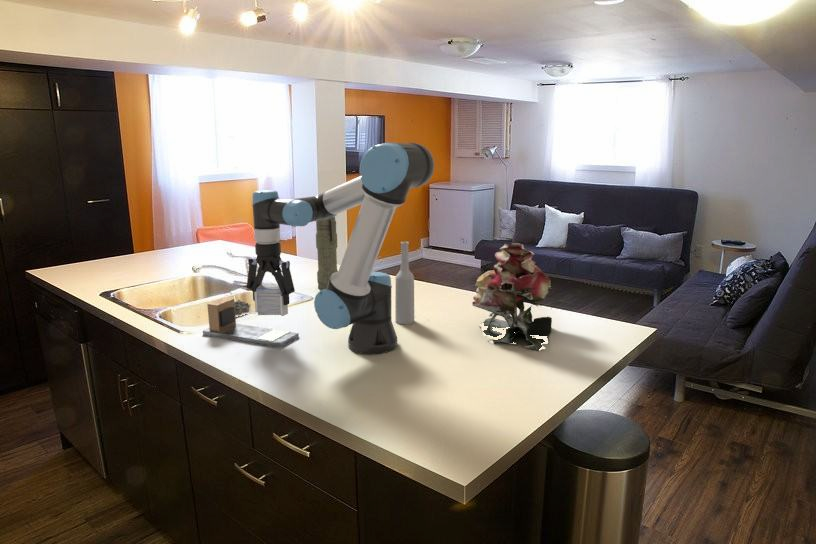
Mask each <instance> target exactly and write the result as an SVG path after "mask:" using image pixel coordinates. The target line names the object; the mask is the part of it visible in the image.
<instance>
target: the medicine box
mask: <svg viewBox="0 0 816 544" xmlns="http://www.w3.org/2000/svg"><path fill="white" fill-rule="evenodd" d="M256 293H257V308H258V312H257V315H258V316H281V308H280V295H282V293H281V291H280V288H279V286H278V284H267V285H266V284H265V285H264V284H261V285H260V286H259V287H258V288H257V289H256Z"/></svg>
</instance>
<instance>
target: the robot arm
mask: <svg viewBox="0 0 816 544" xmlns="http://www.w3.org/2000/svg"><path fill="white" fill-rule="evenodd" d="M434 171H435V160H434V157H433V154H432V153H431V151H430V149H428V148H427V147H426V146H424V145H423V144H420V143H418V142H417V143H416V142H401V143H400V142H396V143H395V142H391V141H390V142H383V143H378V144H376V145H373V146H371V147H370V148H368V150H366V152H365V153H364V154H363V156H362V158H361V160H360V164H359V174H360V176H358V177H354V178H353V179H351V180H348V181H347V182H344V183H342V184H340V185H337V186H336V187H332V188H330V189H329V190H327V191H324V192H323V193H320V194H318V195H313V196H307V197H298V198H280V196H279V193H278V191H277V190H275V189H273V190H272V189H262V190H261V189H260V190H255V191H253V193H252V203H251V206H252V213H253V214H252V215H253V231H254V233H253V234H254V242H255V244H254V248H255V255H256V257H255V256H254V257H250V258H248V260H247V262H248V271H247V272H248V274H247V280H246V281H247V282H246V288H247V289H248V290H251V292H252V300H253V301H254V307H255V313H258V308H257V293H256V289H257V288H258V287H259V286H260V285H262V283H263V280H264V277H265V275H266V273H271V275H272V276H273V277H274V279H275V281H276V285H278V286H279V288H280V291H281V293H282V295H280V308H281V315H280V316H281V317H284V316H286V315H288V314H289V307H288V306H289V304H290V294H292V293H294V292H295V291H296V290H295V286H294V282H293V281H294V280H293V277H292V273H291V269H290V266H291V263H290V260H286V261H285V260H282V258H281V254H282V248H281V247H282V245H281V242H280V240H281V229H280V226H281V225H284V226H291V227H294V228H295V227H306V226H307V225H308V224H309V223H312V222H316V221H318V220H327V219H330V218H333V217H335V218H336V217H337V216H338V214H340V213H342V212H343V213H344V212H345V211H347V210H350V209H353V208H355V207H358V206H360V209H359V212H358V215H357V218H356V221H355V223H354V226H353V228H352V231H351V233H350V237H349V240H348V242H347V245H346V249H345V251H344V254H343V257H342V260H341V263H340V266H339V268H338V271H337V272H334V273H333V274H332V275H331V277H330V280H329V283H328V286H327V288H326V289H323V290H319V291H318V292H317V293H316V294H315V297H314V301H313V305H314V310H315V312H316V316H317V318H318V319H319V320H320V322H321V323H322V324H323V325H324V326H326V327H327V328H328V329H332V330H340V329H342V328H347V327H349V326H350V325H352V326H351V327H350V331H349V335H348V339H347V346H348V349H350V350H351V351H353V352H356V353H359V354H363V355H365V354H366V355H376V354H384V353H388V352H391V351H393V350H395V349H396V348H397V347H398V336H397V332H396V329H395V328H394V324H393V319H392V287H393V285H392V278H391V276H390V275H389V274H388V273H386V272H381V271H373V270H374V267H375V264H376V262H377V258H378V256H379V253H380V251H381V248H382V246H383V244H384V240H385V237H386V236H387V232H388V230H389V227H390V224H391V222H392V220H393V218H394V217H393V216H394V214H395V211H396V209H397V208H398V207H400V206H403V205H404V204H405V202H406V199H407V197H408V195H409V191H410V190H411V189H415V188H419V187H422V186H425V185H426V184H427V183H428V182H429V181H430V180H431V178H432V176H433V174H434Z"/></svg>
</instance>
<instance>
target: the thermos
mask: <svg viewBox="0 0 816 544" xmlns="http://www.w3.org/2000/svg"><path fill="white" fill-rule="evenodd" d="M315 222H316V224H315V226H316V229H315V230H316V233H315V246H316V250H317V269H318V270H317V272H316V274H317V275H316V279H317V281H316V282H317V288H318V290H319V291H321V290H323V289H326V288H327V286H328V283H329V280H330V277H331V275H332V274H333V273H334V272H337V271H339V269H338V259H337V257H338V256H337V249H338V233H337V221H336V216H335V217H333V218H330V219H327V220H318V221H315Z"/></svg>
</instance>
